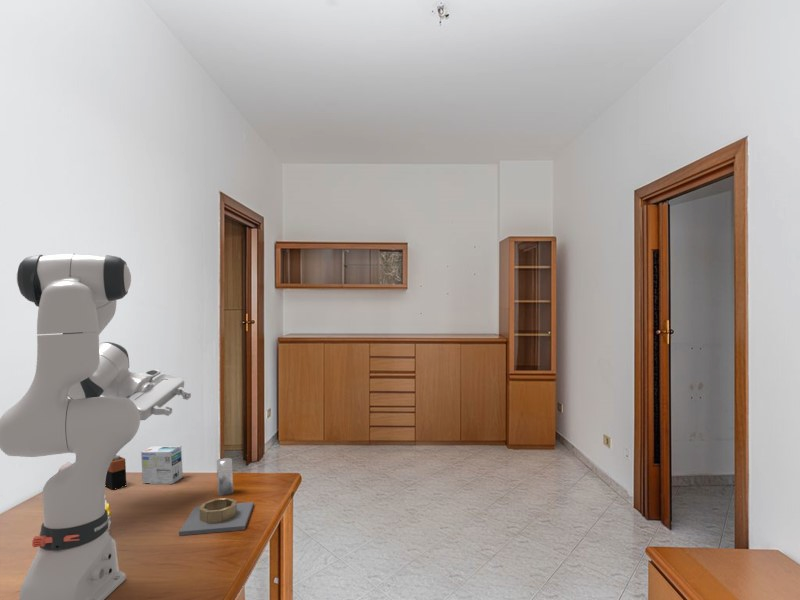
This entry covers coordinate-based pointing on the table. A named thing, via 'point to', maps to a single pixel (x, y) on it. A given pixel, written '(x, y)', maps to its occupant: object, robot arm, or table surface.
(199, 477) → the table surface
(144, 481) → the light bulb box
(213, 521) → the bronze ring
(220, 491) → the piston
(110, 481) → the battery
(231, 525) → the base plate
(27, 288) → the robot arm
